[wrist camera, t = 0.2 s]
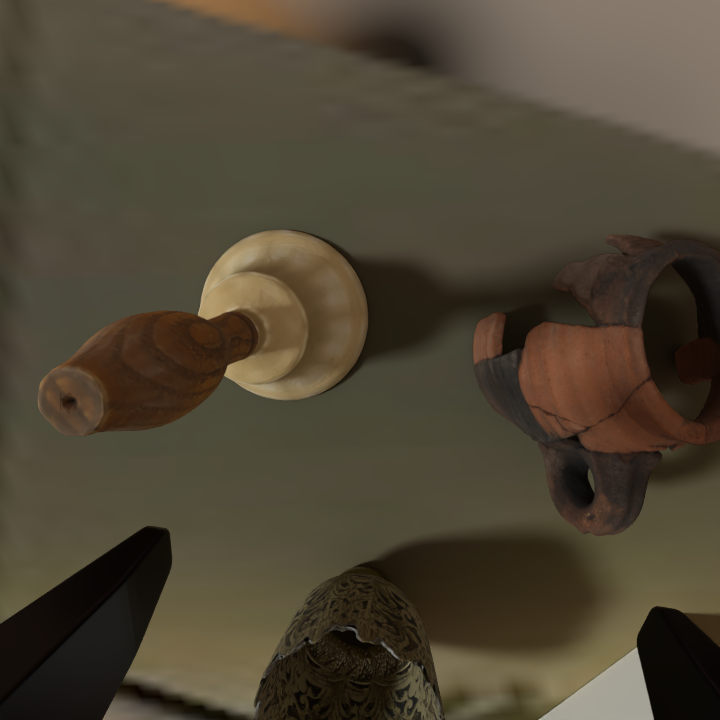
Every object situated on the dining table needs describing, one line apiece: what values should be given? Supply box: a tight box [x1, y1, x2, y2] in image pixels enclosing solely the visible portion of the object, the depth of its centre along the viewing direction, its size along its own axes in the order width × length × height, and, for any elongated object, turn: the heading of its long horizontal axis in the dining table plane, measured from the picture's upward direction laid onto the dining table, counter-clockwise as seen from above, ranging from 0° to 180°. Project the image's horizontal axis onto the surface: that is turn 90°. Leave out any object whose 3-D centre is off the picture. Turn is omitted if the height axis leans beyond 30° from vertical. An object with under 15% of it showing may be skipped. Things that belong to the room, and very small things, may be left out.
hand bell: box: [38, 230, 368, 436], centre depth 16 cm, size 8×8×16 cm
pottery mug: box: [473, 235, 720, 536], centre depth 21 cm, size 12×10×8 cm
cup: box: [254, 567, 445, 720], centre depth 23 cm, size 8×7×8 cm
